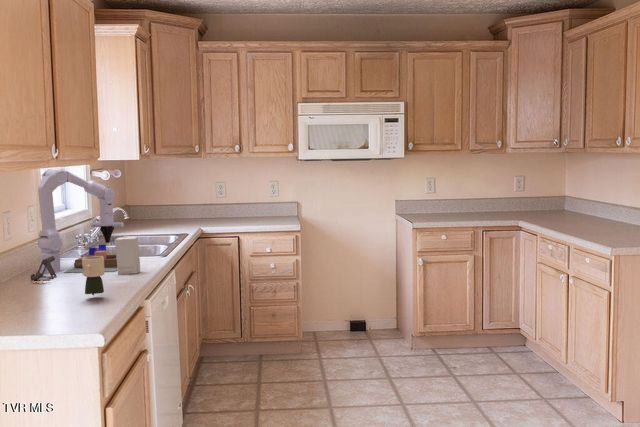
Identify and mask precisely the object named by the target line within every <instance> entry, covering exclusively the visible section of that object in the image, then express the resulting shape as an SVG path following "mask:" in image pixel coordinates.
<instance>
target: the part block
mask: <svg viewBox="0 0 640 427" xmlns="http://www.w3.org/2000/svg"><path fill="white" fill-rule="evenodd" d="M94 253H95V256H103V257H104V259H107V256H106V255H107V250H106V251H96V252H94Z"/></svg>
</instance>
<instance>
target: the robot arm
mask: <svg viewBox="0 0 640 427" xmlns="http://www.w3.org/2000/svg"><path fill="white" fill-rule="evenodd" d="M40 176H41V179H40V182H39V184H38V188H37V193H38V194H37V196H38V203H39V211H40V212H39V213H40V224H41V230H40V232H39V233H38V235H39V236H38V240H37V246H38V247H39V249H40V252H41V254H40V255H39V258H38V268H39V267H40V265H41V263H42V260H44V259H46V258H48V257H51V256H54V257H55V260H54V261H52V262H51V266H52V268H53V270H54V272H55V274H57V273H59V272H61V271H63V270H64V268H61V254H60V253H61V248H62V247H63V240H62V239H61V236H60V233H59V231H58V230H57V227H56V217H55V216H56V215H55V207H54V196H53V194H54V191H56V189H57V188H58V187H61V186H62V185H65V183H71V184H73V185H76V186H79V187H81V188H83V190H84V192H86V193H87V194H90V195H92V196H94V197H97V199H98V201H99V218H100V220H99V222H91V223H90V225H89V226H90V228H91V229H92V228H99V229H100V232H101V234H102V235H103V238H104V240H105V241H104V242H105V244H110V243H111V238H112V234H113V232H114V230H115V228H124V225H125V224H124V222H115V221H114V204H113V203H114V199H115V196H116V193H115V190H114V189H113V188H112V187H106V185H105V184H101V183H98V182H97V180H95V179H91V180H85V179H84V178H82V177H79V175H75V174H74V173H71V172H70V171H66V170H64V169H60V168H59V169H52V168H51V169H47V170H45V171H44V172H43V173H42V174H41V175H40ZM44 267H45V265H44V264H43V265H42V268H41V270H40V273H41V274H42V272H43V270H44ZM44 274H50V273H49V271H48V269H47V267H46V270H45V272H44Z"/></svg>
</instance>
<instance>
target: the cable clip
mask: <svg viewBox="0 0 640 427" xmlns="http://www.w3.org/2000/svg"><path fill="white" fill-rule="evenodd" d="M97 248H98V249H97ZM96 251H106V252H107V243H105V244H103V243H102V244H101V243H100V244H98V247H95V246H94V247H89V248H88V255H95V253H94V252H96Z"/></svg>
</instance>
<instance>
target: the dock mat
mask: <svg viewBox="0 0 640 427" xmlns="http://www.w3.org/2000/svg"><path fill="white" fill-rule="evenodd" d="M115 272H118V269H117V267H104V273H115ZM63 273H64V274H72V273H73V274H77V273H82V274H83V268H75V267H74V266H73V267H72V268H70V269H68V270H66V271H64V272H63Z"/></svg>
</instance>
